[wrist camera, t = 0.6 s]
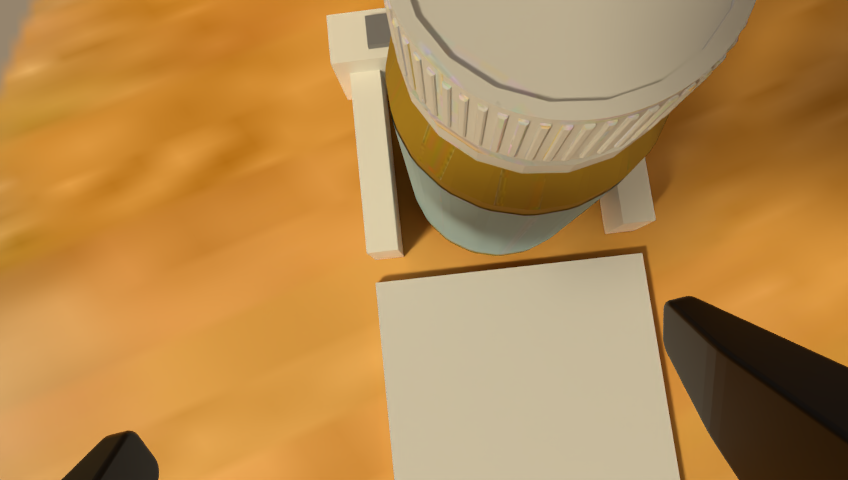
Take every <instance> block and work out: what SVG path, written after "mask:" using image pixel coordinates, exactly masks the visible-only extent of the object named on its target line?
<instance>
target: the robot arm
mask: <svg viewBox="0 0 848 480" xmlns="http://www.w3.org/2000/svg"><path fill="white" fill-rule="evenodd" d="M663 341H664V346H665V349H666V351H667V354H668V356H669V357H670V359H671V361H672V363H673V365H674V367H675V369H676V371H677V373H678V375H679V377H680V379H681V381H682V383H683V385H684V387H685V389H686V391H687V393H688V394H689V396H690V398H691V400H692V402H693V404H694V406H695V408H696V410H697V412H698V414H699V416H700V418H701V420H702V422H703V424H704V425H705V427H706V429H707V431H708V433H709V434H710V436H711V438H712V439H713V441H714V442H715V444H716V446H717V447H718V449H719V450H720V452H721V453H722V455H723V456H724V458H725V459H726V461H727V462H728V464H729V465H730V467H731V468H732V470H733V471H734V473H735V474H736V476H737V478H738V479H739V480H848V367H846V366H844V365H842V364H840V363H837V362H835V361H833V360H831V359H829V358H826V357H824V356H822V355H820V354H818V353H816V352H813V351H811V350H809V349H807V348H805V347H802V346H800V345H798V344H796V343H794V342H791V341H789V340H787V339H785V338H783V337H781V336H778V335H776V334H774V333H772V332H770V331H767V330H765V329H763V328H761V327H759V326H756V325H754V324H752V323H750V322H748V321H746V320H743V319H741V318H739V317H737V316H735V315H732V314H730V313H728V312H726V311H724V310H721V309H719V308H717V307H715V306H713V305H711V304H708V303H706V302H704V301H702V300H700V299H697V298H695V297H692V296H686V297H682V298H677V299H673V300H669V301H667V302H666V303H665V305H664V318H663ZM158 478H159V468H158V463H157V461H156V459H155V457H154V456H153V455H152V453H151V452H150V451H149V449H148V448H147V447H146V445H145V444H144V442H143V441H142V440H141V438H140V437H139V436H138V435H137V434H136V433H135V432H133V431H124V432H120V433H116V434H112V435H109V436H106V437H105V438H104V439H102V440H101V441H100V442H99V443H98V444H97V445H96V446H95V447H94V448H93V449H92V450H91V451H90V452H89V453H88V454H87V455H86V456H85V457H84V458H83V459H82V460H81V461H80V462H79V463H78V464H77V465H76V466H75V467H74V468H73V469H72V470H71V471H70V472H69V473H68V474H67V475H66V476H65V477H64V478H63V479H62V480H158Z"/></svg>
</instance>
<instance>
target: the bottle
mask: <svg viewBox="0 0 848 480" xmlns="http://www.w3.org/2000/svg"><path fill="white" fill-rule="evenodd" d="M755 2H756V0H384V4H385V8H386V13H387V18H388V23H389V27H390V32H391V37H390V43H389V49H388V55H387V61H386V67H385V79H386V85H387V92H388V98H389V104H390V110H391V116H392V121H393V124H394V127H395V131H396V134H397V137H398V141H399V144H400V147H401V151H402V154H403V157H404V161H405V164H406V167H407V171H408V174H409V177H410V181H411V184H412V188H413V191H414V194H415V197H416V200H417V202H418V204H419V206H420V207H421V209H422V211H423V213H424V215H425V217H426V218H427V220H428V221H429V223H430V224H431V225H432V226H433V227H434V228H435V229H436V230H437V231H438V232H439V233H440V234H441V235H442V236H443V237H444V238H445V239H447V240H448V241H450V242H451V243H453V244H455V245H457V246H459V247H462V248H464V249H466V250H468V251H471V252H474V253H479V254H486V255H494V256H502V255H508V254H514V253H520V252H523V251H526V250H529V249H531V248H533V247H535V246H536V245H538V244H540V243H542V242H544V241H546V240H548V239H549V238H551V237H552V236H553V235H555V234H556V233H557V232H558V231H560V230H561V229H562V228H564V227H565V226H566V225H567V224H569V223H570V222H571V221H572V220H574V219H575V218H576V217H577V216H579V215H580V214H581V213H582V212H584V211H585V210H586V209H588V208H589V207H590V206H591V205H593V204H594V203H595V202H596V201H598V200H599V199H600V198H601V197H603V196H604V195H605V194H606V193H608V192H609V191H610V190H612V189H613V188H614V187H615V186H617V185H618V184H619V183H620V182H621V181H622V180H623V179H624V178H625V177H626V176H627V175H628V174H629V173H630V172H631V171H632V170H633V169H634V168H635V167H636V166H637V165H638V164H639V162H640V161H641V160H642V159H643V158H644V157H645V156H646V155H647V154H648V153H649V152H650V150H651V149H652V148H653V146H654V145H655V143H656V141H657V139H658V137H659V135H660V133H661V130H662V128H663V126H664V124H665V122H666V120H667V117H668V115H669V113H670V112H671V111H672V110H673V109H674V108H675V107H676V106H677V105H678V104H679V103H680V102H682V101H683V100H684V99H685V98H686V97H687V96H688V95H689V94H690V93H691V92H692V91H693V90H694V89H695V88H697V87H698V86H699V85H700V84H701V83H702V82H703V81H704V80H705V79H706V78H707V77H708V76H709V75H710V74H711V73H712V71H713V70H714V69H715V68H716V67H717V66H718V65H719V64H721V63H722V62H723V60H724V59H725V58H726V53H727V52H728V51H729V50H730V49H731V48H732V47H733V46H734V45H735V44H736V42H737V41H738V35H739V34H740V32H741V31H742V30H743V29H744V28H745V26H746V24H747V20H748V18H749V16H750V14H751V11H752V9H753V7H754V4H755Z"/></svg>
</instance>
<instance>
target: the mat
mask: <svg viewBox="0 0 848 480" xmlns="http://www.w3.org/2000/svg"><path fill="white" fill-rule="evenodd" d="M376 292H377V302H378V313H379V323H380V334H381V344H382V355H383V365H384V375H385V386H386V396H387V407H388V417H389V428H390V438H391V449H392V459H393V469H394V480H680V476H679V470H678V464H677V458H676V452H675V446H674V440H673V434H672V428H671V422H670V416H669V410H668V404H667V398H666V392H665V386H664V380H663V374H662V368H661V362H660V356H659V350H658V344H657V338H656V332H655V326H654V320H653V314H652V308H651V302H650V296H649V290H648V284H647V278H646V272H645V266H644V260H643V254H642V253H637V254H628V255H620V256H611V257H602V258H593V259H584V260H575V261H566V262H557V263H548V264H539V265H531V266H522V267H513V268H504V269H495V270H486V271H477V272H468V273H459V274H450V275H441V276H433V277H424V278H415V279H406V280H397V281H388V282H379V283H376Z"/></svg>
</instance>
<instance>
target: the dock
mask: <svg viewBox="0 0 848 480" xmlns="http://www.w3.org/2000/svg"><path fill="white" fill-rule="evenodd" d="M327 27H328V38H329V49H330V60H331V65H332V67H333V70H334V72H335V74H336V76H337V78H338V80H339V82H340V84H341V86H342V88H343V91H344V93H345V95H346V97H347V99H348V100H352V101H353V112H354V122H355V133H356V144H357V154H358V165H359V175H360V186H361V197H362V207H363V218H364V229H365V239H366V250H367V254H368V255H370V256H371V257H372V258H374V259H375V260H380V259H389V258H398V257H404V254H403V244H402V235H401V225H400V215H399V206H398V196H397V186H396V177H395V167H394V158H393V148H392V138H391V129H390V119H389V109H388V100H387V95H388V92H387V85H386V79H385V67H386V61H387V55H388V49H389V43H390V37H391V32H390V27H389V23H388V18H387V13H386V8H380V9H372V10H365V11H357V12H349V13H341V14H334V15H327ZM600 206H601V212H602V218H603V225H604V231H605V234H609V233H617V232H626V231H634V230H636V229H638V228H640V227H643V226H645V225H647V224H649V223H651V222H653V221H655V220H656V218H655V212H654V206H653V201H652V195H651V189H650V183H649V177H648V171H647V166H646V160H645V157H644V158H643V159H642V160H641V161H640V162H639V164H638V165H637V166H636V167H635V168H634V169H633V170H632V171H631V172H630V173H629V174H628V175H627V176H626V177H625V178H624V179H623V180H622V181H621V182H620V183H619V184H618V185H617V186H615V187H614V188H613V189H612V190H610V191H609V192H608V193H606V194H605V195H604V196H603V197H601V198H600Z"/></svg>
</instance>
